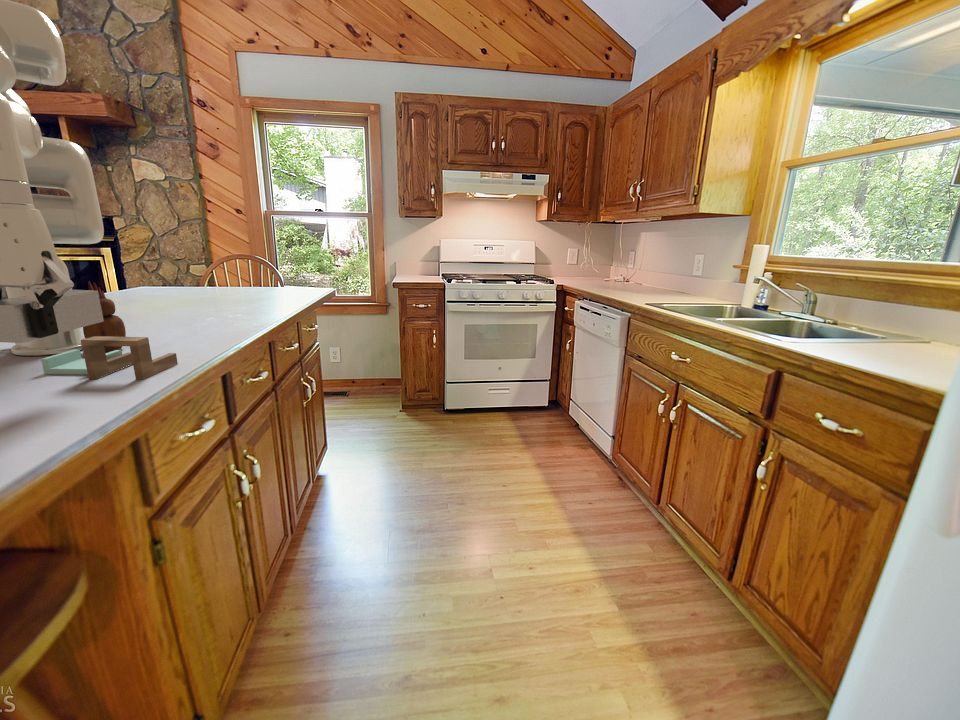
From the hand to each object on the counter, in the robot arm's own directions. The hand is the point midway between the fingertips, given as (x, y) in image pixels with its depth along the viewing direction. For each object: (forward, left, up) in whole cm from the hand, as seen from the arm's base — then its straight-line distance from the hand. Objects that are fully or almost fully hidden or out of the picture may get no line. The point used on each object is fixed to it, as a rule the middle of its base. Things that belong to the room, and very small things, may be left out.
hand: (25, 333), depth 59 cm
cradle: (-9, +19, -11) cm, 24 cm away
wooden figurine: (-15, +33, -11) cm, 38 cm away
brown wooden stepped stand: (+1, +18, -11) cm, 21 cm away
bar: (0, +4, +2) cm, 4 cm away
